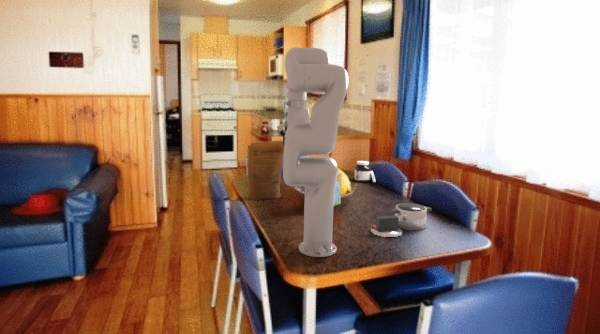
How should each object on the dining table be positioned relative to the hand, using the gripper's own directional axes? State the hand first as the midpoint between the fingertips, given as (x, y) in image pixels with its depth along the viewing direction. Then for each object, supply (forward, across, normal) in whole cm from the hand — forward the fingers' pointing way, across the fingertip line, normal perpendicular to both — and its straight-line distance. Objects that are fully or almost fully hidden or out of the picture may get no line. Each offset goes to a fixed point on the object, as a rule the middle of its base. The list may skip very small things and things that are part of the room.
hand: (296, 146), depth 170 cm
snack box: (+29, +15, +2) cm, 33 cm away
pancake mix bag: (+29, -3, +27) cm, 40 cm away
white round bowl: (+29, +22, -35) cm, 50 cm away
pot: (+29, +35, -32) cm, 56 cm away
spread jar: (+29, +64, +40) cm, 81 cm away
